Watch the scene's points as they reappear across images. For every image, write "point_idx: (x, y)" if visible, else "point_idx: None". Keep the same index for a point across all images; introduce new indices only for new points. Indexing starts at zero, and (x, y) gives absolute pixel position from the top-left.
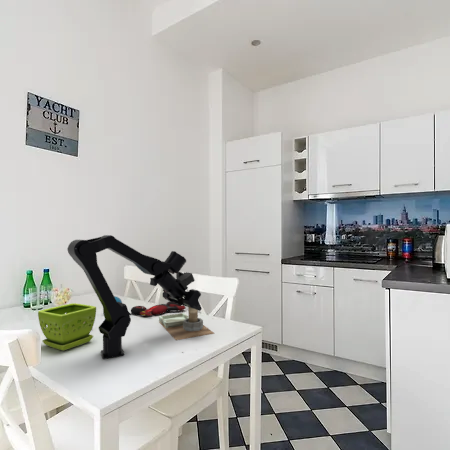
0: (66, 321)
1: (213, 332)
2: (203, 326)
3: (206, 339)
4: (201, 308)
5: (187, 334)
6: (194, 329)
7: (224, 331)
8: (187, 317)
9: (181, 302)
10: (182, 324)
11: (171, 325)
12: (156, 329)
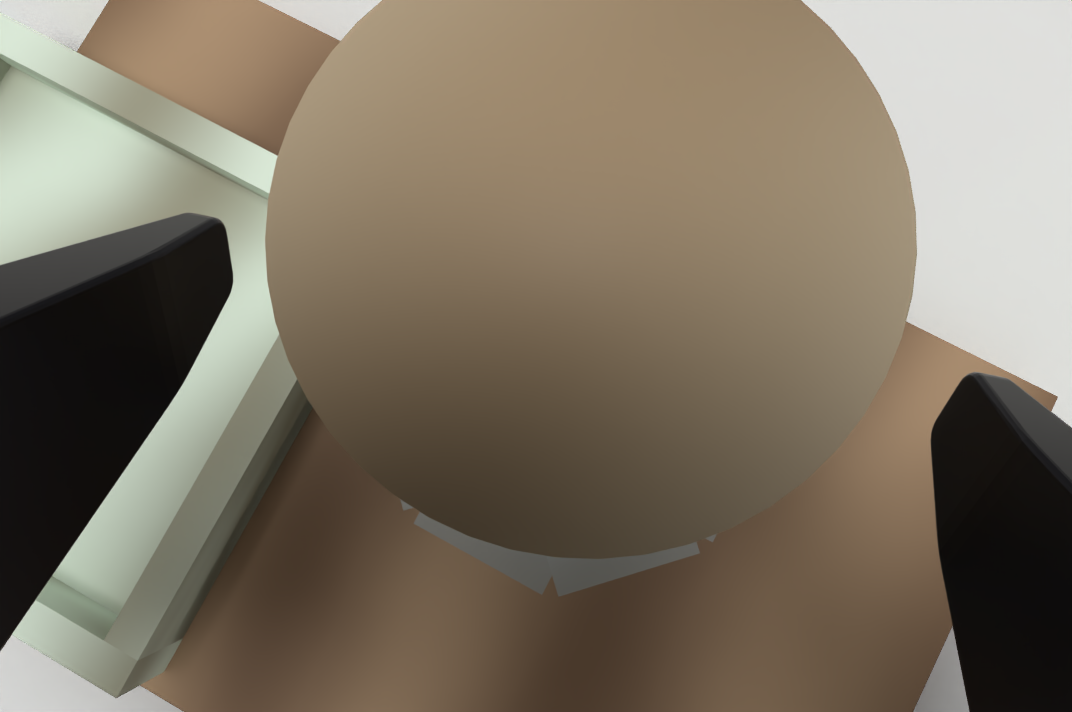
0: None
1: (1009, 374)
2: None
3: None
4: (1015, 396)
5: (716, 708)
6: None
7: (1005, 144)
8: (219, 167)
9: (77, 458)
10: None
11: (200, 586)
12: (3, 706)
